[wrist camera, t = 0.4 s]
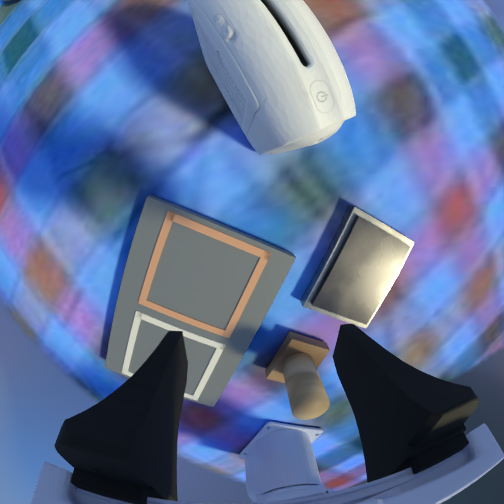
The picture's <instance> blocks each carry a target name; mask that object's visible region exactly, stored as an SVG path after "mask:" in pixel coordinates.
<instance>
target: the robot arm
mask: <svg viewBox="0 0 504 504" xmlns="http://www.w3.org/2000/svg"><path fill="white" fill-rule="evenodd" d="M333 359H334V363H335V367H336V371H337V374H338V377H339V379H340V381H341V384H342V386H343V388H344V391H345V393H346V395H347V398H348V400H349V402H350V405H351V407H352V410H353V412H354V415H355V418H356V422H357V426H358V430H359V434H360V438H361V442H362V447H363V453H364V458H365V465H366V473H367V483H366V484H362V485H359V486H355V487H352V488H348V489H344V490H340V491H336V492H335V491H333V490H332V489H329V490H327V491H326V488H325V484H322V483H321V479H320V475H319V472H318V468H317V464H316V460H315V456H314V452H313V448H312V444H311V443H312V442H313V441H314V440H315V439H316V438H317V437H318V436H319V435H320V434H321V433H322V432H323V429H321V428H312V427H304V426H297V425H290V424H284V423H278V422H272V421H270V422H267V423H266V424H265V425H264V427H263V428H262V429H261V430H260V431H259V432H258V434H257V435H256V436H255V437H254V438H253V439H252V440H251V441H250V443H249V444H248V445H247V446H246V447H245V448H244V449H243V450H242V451H241V452H240V454H239V458H243V459H245V469H246V487H247V493H248V495H249V497H250V498H251V500H252V501H253V503H251V504H355V503H356V504H441V503H442V502H444V501H446V500H448V499H449V498H451V497H452V496H454V495H456V494H457V493H459V492H460V491H462V490H463V489H465V488H466V487H468V486H469V485H471V484H472V483H473V482H475V481H476V480H478V479H479V478H480V477H482V476H483V475H484V474H485V473H487V472H488V471H489V470H491V469H492V468H493V467H494V466H495V465H497V464H498V463H499V462H500V461H501V460H502V459H503V458H504V454H503V452H502V450H501V449H500V447H499V445H498V443H497V442H496V440H495V438H494V437H493V435H492V434H491V432H490V430H489V429H488V427H487V426H486V424H482V425H481V426H479V427H478V428H476V429H475V430H473V431H471V432H470V433H469V434H467V435H466V436H465V434H464V433H463V431H465V430H466V427H465V426H464V422H465V421H466V420H467V419H468V417H469V416H470V415H471V414H472V413H473V411H474V410H475V409H476V407H477V405H478V402H479V399H478V397H477V396H476V394H475V393H474V392H473V390H472V389H471V387H468V386H463V385H459V384H454V383H451V382H447V381H444V380H441V379H438V378H436V377H433V376H431V375H429V374H426V373H424V372H422V371H420V370H418V369H416V368H414V367H412V366H410V365H409V364H407V363H405V362H403V361H402V360H400V359H399V358H397V357H396V356H394V355H393V354H391V353H390V352H389V351H387V350H386V349H384V348H383V347H382V346H380V345H379V344H378V343H377V342H375V341H374V340H373V339H371V338H370V337H369V336H368V335H366V334H365V333H364V332H363V331H361V330H360V329H359V328H358V327H356V326H355V325H354V324H344V325H341V326H340V330H339V334H338V338H337V342H336V346H335V350H334V354H333ZM187 372H188V360H187V355H186V349H185V343H184V337H183V331H168V332H167V334H166V335H165V336H164V338H163V339H162V340H161V342H160V343H159V345H158V346H157V347H156V348H155V350H154V351H153V352H152V354H151V355H150V356H149V357H148V358H147V360H146V361H145V362H144V363H143V364H142V365H141V367H140V368H139V369H138V370H137V371H136V372H135V373H134V374H133V375H132V376H131V377H130V378H129V379H128V380H127V381H126V382H125V383H124V384H123V385H121V386H120V387H119V388H118V389H117V390H115V391H114V392H113V393H112V394H110V395H109V396H108V397H106V398H105V399H104V400H102V401H100V402H99V403H97V404H96V405H94V406H92V407H91V408H89V409H87V410H85V411H83V412H81V413H79V414H77V415H75V416H73V417H71V418H69V419H66V420H65V421H64V423H63V425H62V427H61V430H60V433H59V435H58V438H57V440H56V443H55V448H56V450H57V452H58V453H59V454H60V455H61V456H62V457H63V458H64V459H65V460H66V461H67V462H68V463H69V464H71V465H72V466H73V467H74V471H73V474H72V473H71V472H69V471H67V470H65V469H63V468H60V467H58V466H55V465H53V464H50V463H48V462H44V463H43V466H42V469H41V472H40V475H39V478H38V482H37V485H36V488H35V491H34V495H33V499H32V502H31V504H207V503H191V502H180V501H178V499H177V467H176V466H177V438H178V426H179V419H180V414H181V409H182V404H183V399H184V393H185V388H186V383H187ZM361 501H363V502H361ZM358 502H359V503H358ZM249 504H250V503H249Z"/></svg>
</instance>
